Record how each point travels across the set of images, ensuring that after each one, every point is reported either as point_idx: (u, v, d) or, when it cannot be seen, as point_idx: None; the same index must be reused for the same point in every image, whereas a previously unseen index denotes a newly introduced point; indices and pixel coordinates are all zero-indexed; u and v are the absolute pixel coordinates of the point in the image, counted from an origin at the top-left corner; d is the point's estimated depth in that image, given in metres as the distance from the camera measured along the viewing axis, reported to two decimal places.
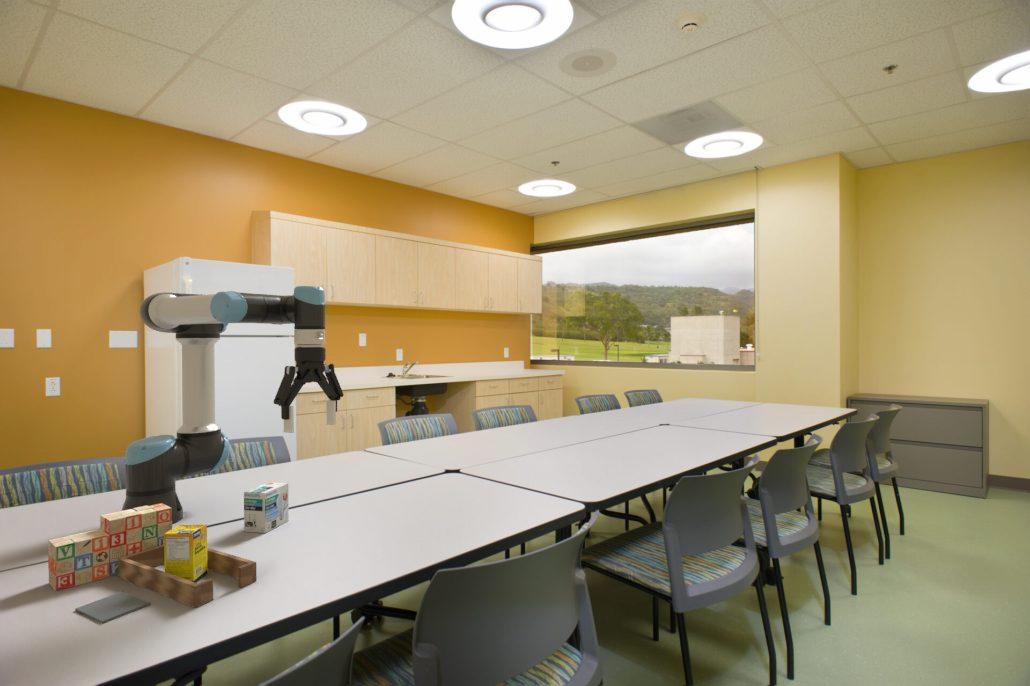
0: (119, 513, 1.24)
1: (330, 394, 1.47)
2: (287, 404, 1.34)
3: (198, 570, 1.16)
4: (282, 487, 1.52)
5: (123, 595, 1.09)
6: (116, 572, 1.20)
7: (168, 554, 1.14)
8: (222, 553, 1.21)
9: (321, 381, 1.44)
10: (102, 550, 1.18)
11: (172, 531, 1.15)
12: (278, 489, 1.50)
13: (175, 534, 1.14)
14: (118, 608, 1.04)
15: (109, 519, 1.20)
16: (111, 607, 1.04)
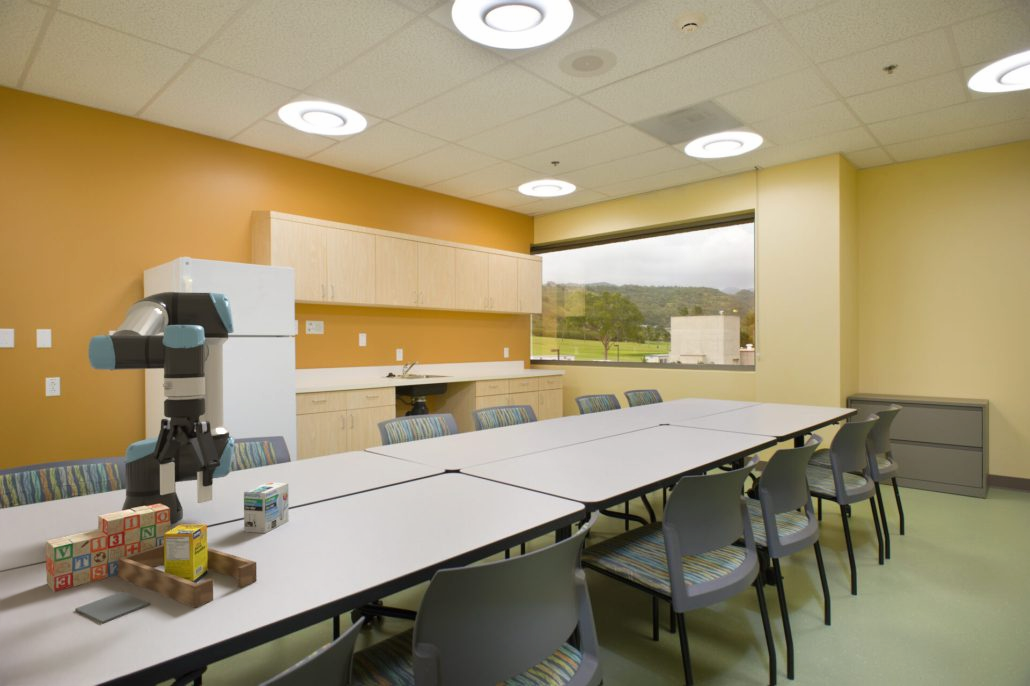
0: (117, 513, 1.23)
1: None
2: (158, 461, 1.20)
3: (198, 570, 1.16)
4: (282, 487, 1.52)
5: (123, 595, 1.09)
6: (114, 572, 1.20)
7: (168, 554, 1.14)
8: (222, 553, 1.21)
9: None
10: (100, 550, 1.18)
11: (172, 531, 1.15)
12: (278, 489, 1.50)
13: (175, 534, 1.14)
14: (118, 608, 1.04)
15: (107, 519, 1.19)
16: (111, 607, 1.04)
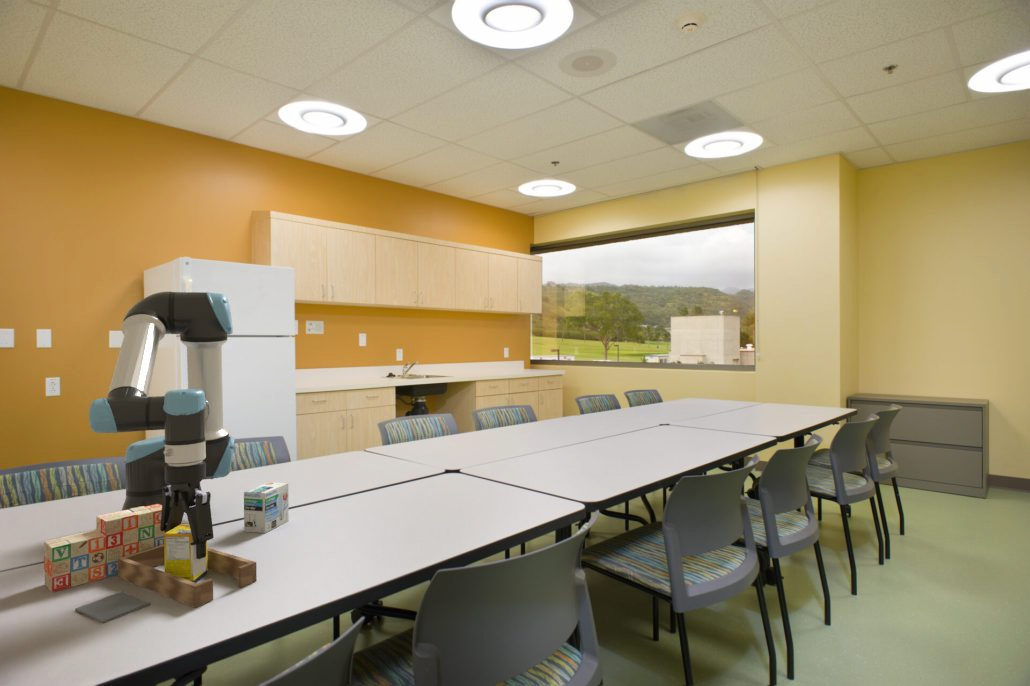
0: (115, 514, 1.23)
1: None
2: None
3: None
4: (282, 487, 1.52)
5: (123, 595, 1.09)
6: (112, 573, 1.19)
7: (168, 554, 1.14)
8: (222, 553, 1.21)
9: None
10: (98, 551, 1.17)
11: (172, 531, 1.15)
12: (278, 489, 1.50)
13: (175, 533, 1.14)
14: (118, 608, 1.04)
15: (105, 520, 1.19)
16: (111, 607, 1.04)
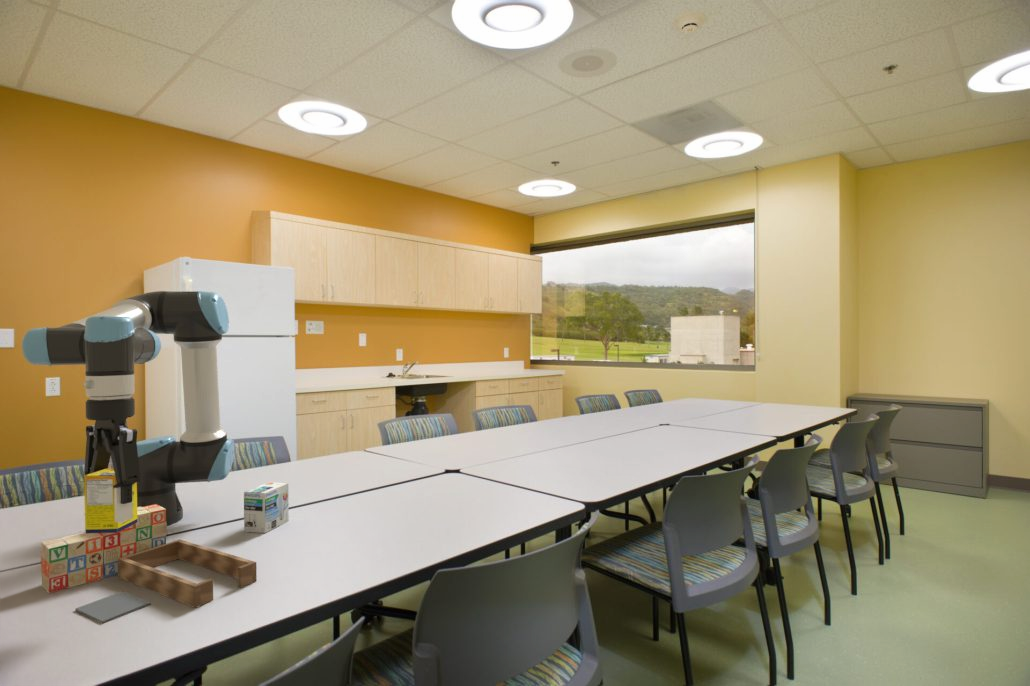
0: None
1: None
2: None
3: None
4: (282, 487, 1.52)
5: (123, 595, 1.09)
6: (110, 574, 1.19)
7: (89, 498, 1.02)
8: (222, 553, 1.21)
9: None
10: (96, 552, 1.17)
11: (94, 473, 1.03)
12: (278, 489, 1.50)
13: (97, 476, 1.02)
14: (118, 608, 1.04)
15: None
16: (111, 607, 1.04)
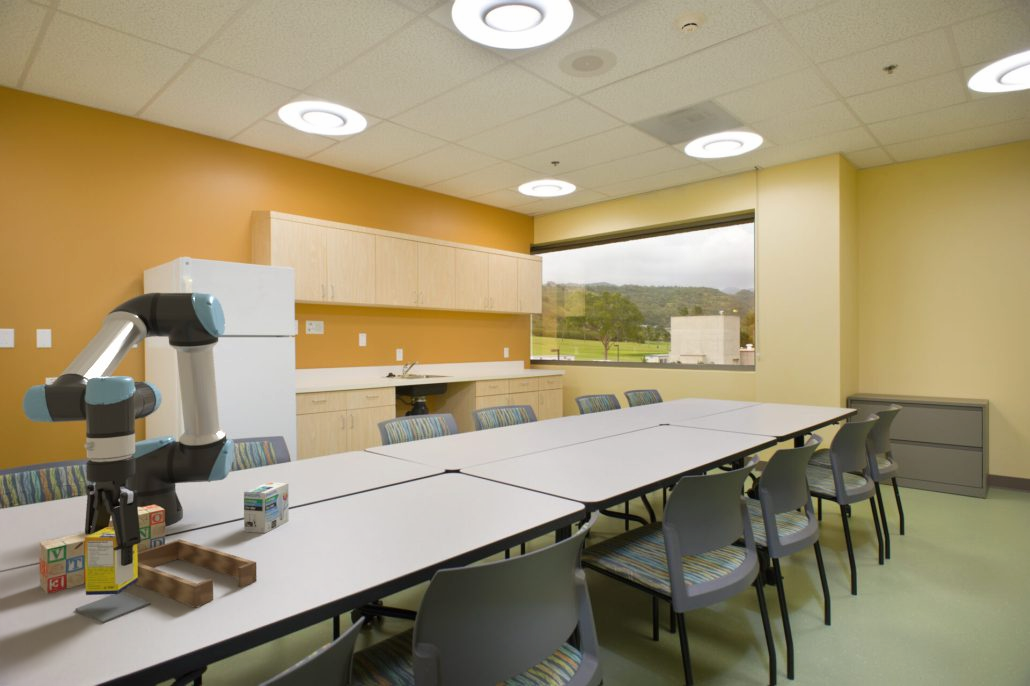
0: None
1: None
2: None
3: None
4: (282, 487, 1.52)
5: (123, 595, 1.09)
6: None
7: (89, 560, 1.02)
8: (222, 553, 1.21)
9: None
10: None
11: (95, 534, 1.03)
12: (278, 489, 1.50)
13: (98, 537, 1.02)
14: (118, 608, 1.04)
15: None
16: (111, 607, 1.04)
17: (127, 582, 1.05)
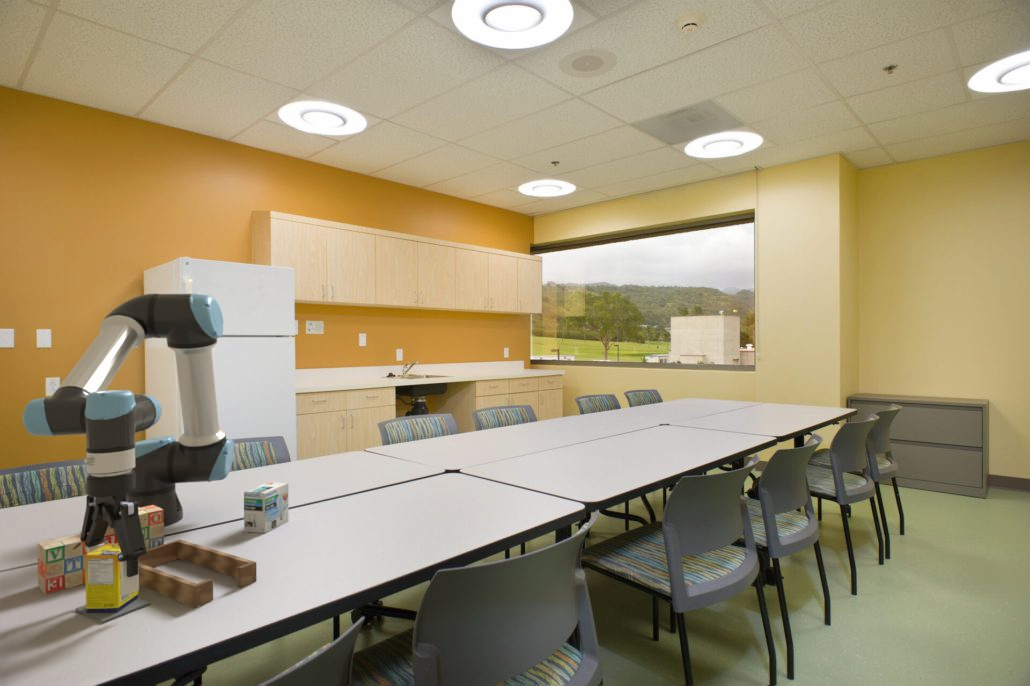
0: None
1: None
2: None
3: (125, 595, 1.04)
4: (282, 487, 1.52)
5: None
6: None
7: (90, 578, 1.02)
8: (222, 553, 1.21)
9: None
10: None
11: (95, 552, 1.03)
12: (278, 489, 1.50)
13: (98, 555, 1.02)
14: None
15: None
16: None
17: (127, 599, 1.05)
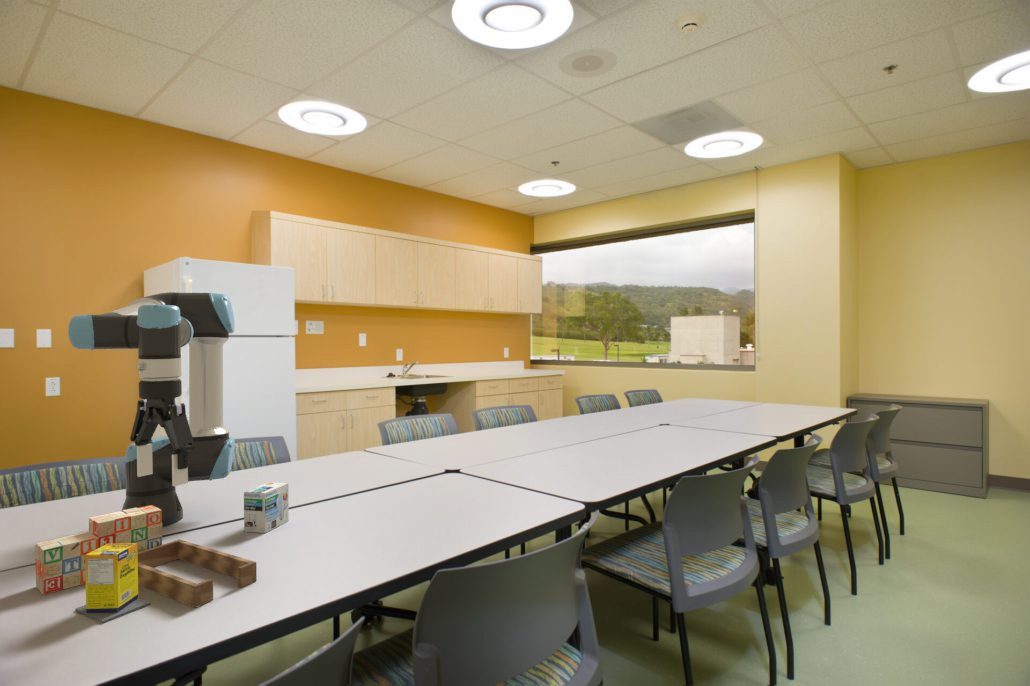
0: (108, 515, 1.22)
1: None
2: (135, 442, 1.18)
3: (125, 595, 1.04)
4: (282, 487, 1.52)
5: None
6: None
7: (90, 578, 1.02)
8: (222, 553, 1.21)
9: None
10: None
11: (95, 552, 1.03)
12: (278, 489, 1.50)
13: (98, 555, 1.02)
14: None
15: (98, 521, 1.18)
16: None
17: (127, 599, 1.05)
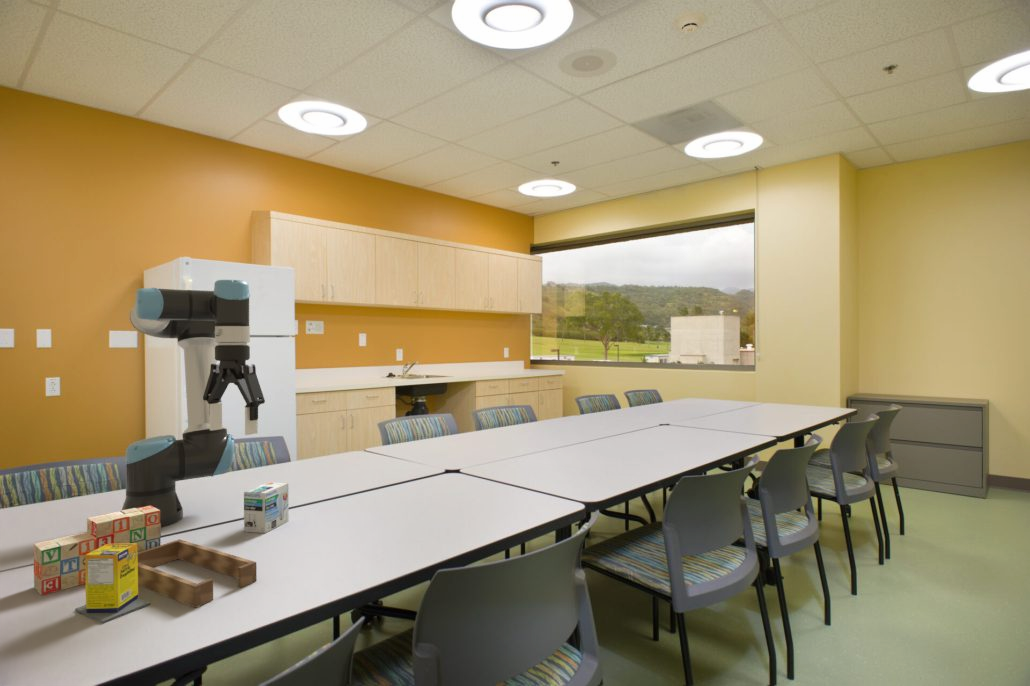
0: (106, 516, 1.22)
1: None
2: (207, 401, 1.36)
3: (125, 595, 1.04)
4: (282, 487, 1.52)
5: None
6: None
7: (90, 578, 1.02)
8: (222, 553, 1.21)
9: None
10: None
11: (95, 552, 1.03)
12: (278, 489, 1.50)
13: (98, 555, 1.02)
14: None
15: (96, 522, 1.18)
16: None
17: (127, 599, 1.05)
